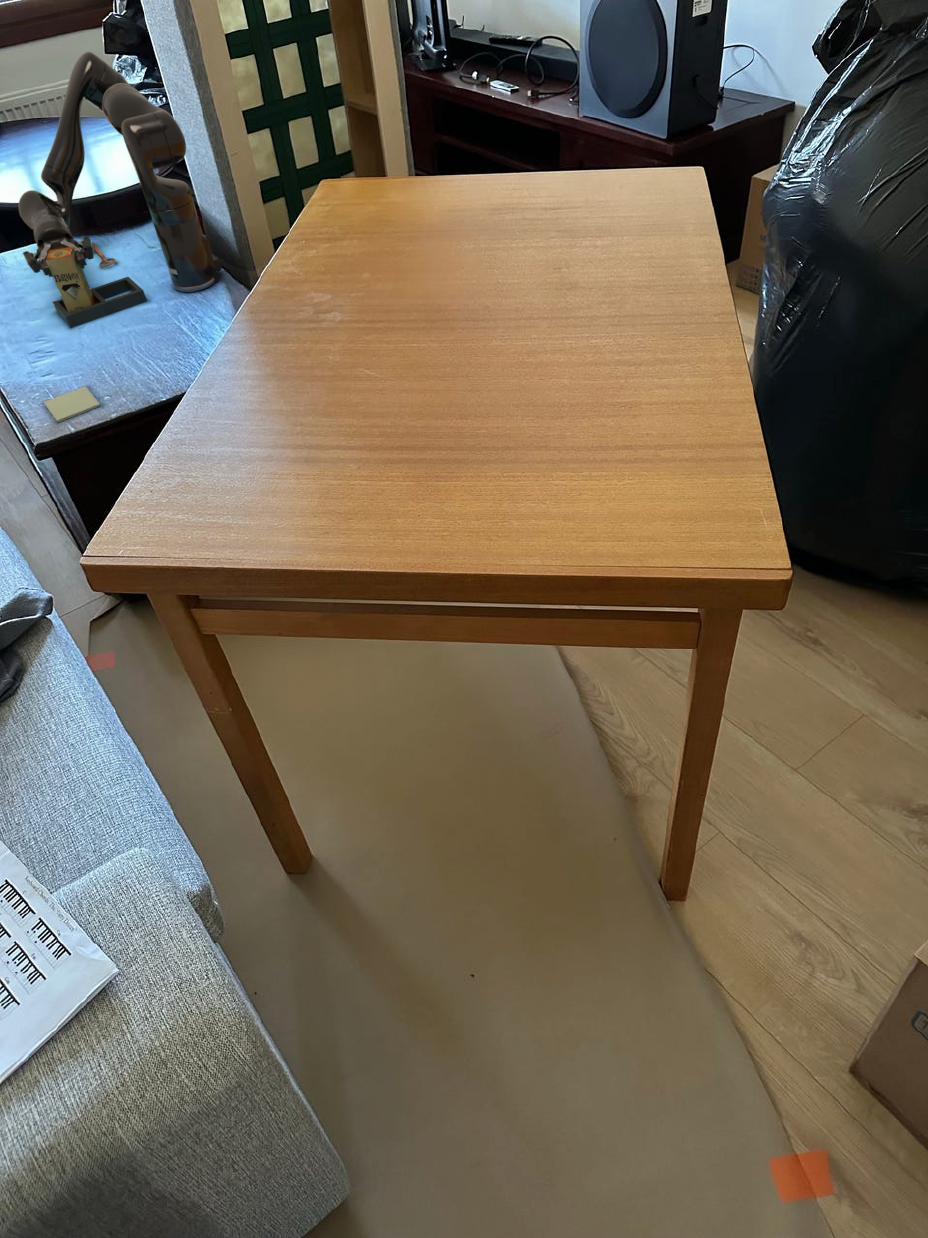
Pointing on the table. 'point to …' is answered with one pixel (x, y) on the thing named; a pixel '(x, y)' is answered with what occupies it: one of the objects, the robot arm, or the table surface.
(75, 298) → the shoe polish box
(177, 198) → the robot arm
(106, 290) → the holder
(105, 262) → the key
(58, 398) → the mat
